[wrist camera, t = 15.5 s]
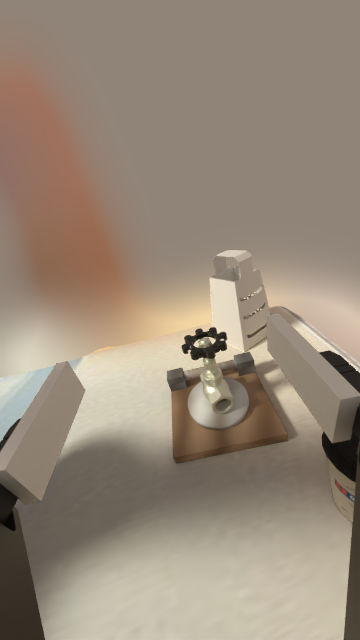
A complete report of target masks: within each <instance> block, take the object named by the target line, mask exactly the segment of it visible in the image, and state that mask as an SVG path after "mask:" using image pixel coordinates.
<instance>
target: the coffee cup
mask: <svg viewBox="0 0 360 640" xmlns="http://www.w3.org/2000/svg"><path fill="white" fill-rule="evenodd" d="M359 441H360V440H359V439H358V437H357V436H356V435H355V434H354V432H353V431H352V435H351V439H350V440H346V441H341V442H336V443H332V442H331V441H330V440H329V438H328V437H327V435H326V434H325V432H323V434H322V446H323V449H324V451H325V453H326V457H327V463H328V469H329V476H330V482H331V488H332V495H333V499H334V501H335V504H336V506H337V507H338V509H339V510H340V512H341V513H342V514H343V515H344V516H345V517H346V518H347V519H348V520H350V521H351V522H353V511H354V498H355V485H356V472H357V459H358V455H357V454H356V451H357V448H358V444H359Z"/></svg>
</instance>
